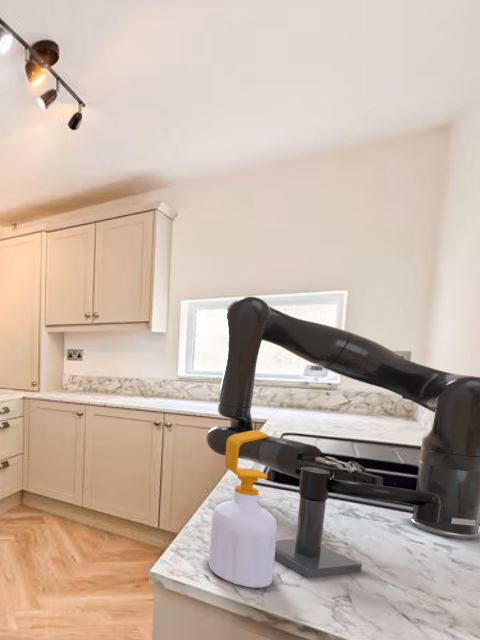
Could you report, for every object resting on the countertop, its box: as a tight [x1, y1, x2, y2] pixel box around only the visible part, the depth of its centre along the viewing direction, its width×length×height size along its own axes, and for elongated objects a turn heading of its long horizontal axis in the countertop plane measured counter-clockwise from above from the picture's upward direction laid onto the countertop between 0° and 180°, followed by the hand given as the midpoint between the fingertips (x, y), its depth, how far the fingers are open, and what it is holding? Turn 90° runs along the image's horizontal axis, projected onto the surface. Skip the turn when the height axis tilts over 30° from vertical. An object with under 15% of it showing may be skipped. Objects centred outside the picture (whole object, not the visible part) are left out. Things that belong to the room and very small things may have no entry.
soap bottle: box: [208, 429, 279, 589], centre depth 70 cm, size 9×9×25 cm
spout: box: [298, 467, 441, 523], centre depth 72 cm, size 18×4×6 cm, turn 60°
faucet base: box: [274, 494, 362, 579], centre depth 76 cm, size 11×10×12 cm
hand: (379, 483), depth 76 cm, fingers closed
